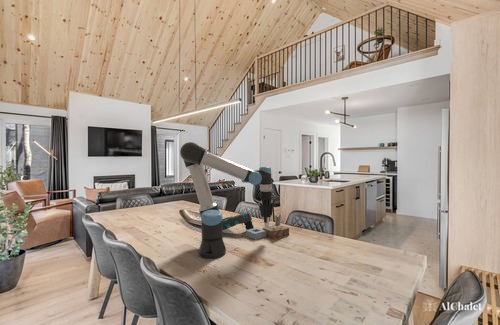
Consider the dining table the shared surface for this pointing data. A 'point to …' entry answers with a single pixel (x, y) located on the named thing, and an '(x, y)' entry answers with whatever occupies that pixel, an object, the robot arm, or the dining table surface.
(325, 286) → the dining table surface
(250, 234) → the grey square holed block
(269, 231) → the socket block
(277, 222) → the steel round bar
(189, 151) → the robot arm
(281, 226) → the tan rectangular bar
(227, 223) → the gun
